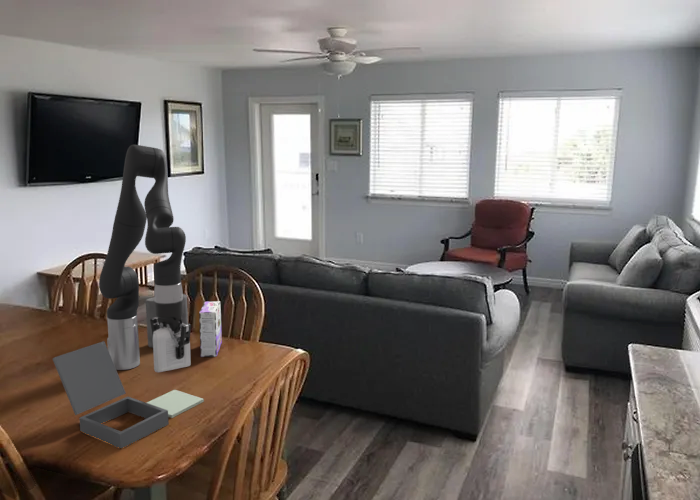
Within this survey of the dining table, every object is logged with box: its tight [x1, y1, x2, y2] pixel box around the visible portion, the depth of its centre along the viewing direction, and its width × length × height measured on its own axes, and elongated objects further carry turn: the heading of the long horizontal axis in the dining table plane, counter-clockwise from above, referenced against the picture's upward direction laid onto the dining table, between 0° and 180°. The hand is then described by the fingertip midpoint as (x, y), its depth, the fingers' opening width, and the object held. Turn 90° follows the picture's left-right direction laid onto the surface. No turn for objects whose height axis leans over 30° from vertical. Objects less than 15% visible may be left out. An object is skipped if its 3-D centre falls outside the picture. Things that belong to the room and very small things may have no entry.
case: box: [78, 396, 169, 449], centre depth 153 cm, size 16×15×4 cm
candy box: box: [198, 300, 223, 358], centre depth 209 cm, size 14×6×16 cm, turn 5°
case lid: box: [52, 340, 126, 416], centre depth 158 cm, size 16×15×2 cm
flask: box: [145, 293, 189, 349], centre depth 215 cm, size 15×6×20 cm, turn 125°
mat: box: [146, 389, 205, 419], centre depth 167 cm, size 12×12×1 cm
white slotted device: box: [152, 327, 192, 373], centre depth 164 cm, size 10×4×12 cm, turn 125°
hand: (172, 356), depth 164 cm, fingers closed on white slotted device, 5 cm apart
